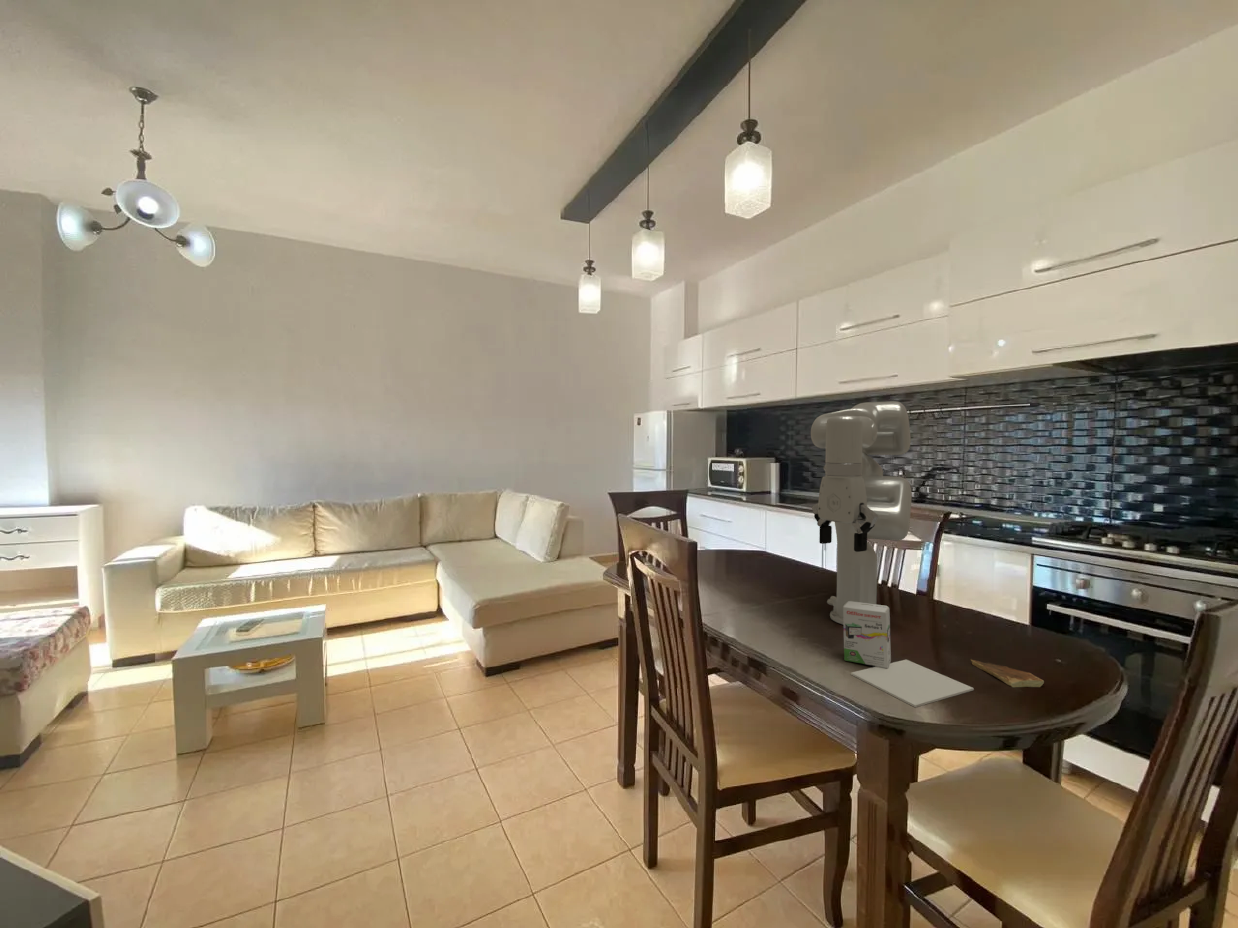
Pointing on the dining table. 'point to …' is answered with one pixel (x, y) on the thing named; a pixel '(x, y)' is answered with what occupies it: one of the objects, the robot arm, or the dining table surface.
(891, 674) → the grey mat
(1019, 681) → the shard
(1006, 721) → the dining table surface
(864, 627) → the ink box
